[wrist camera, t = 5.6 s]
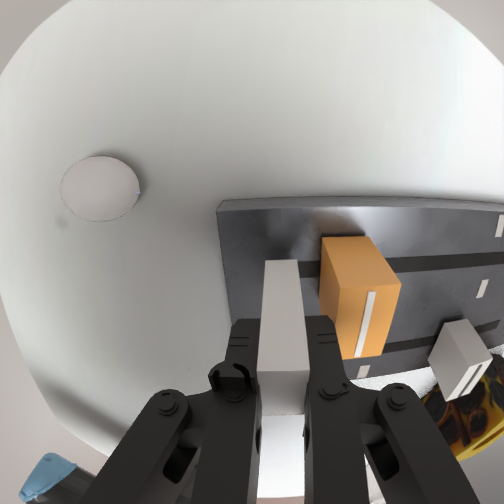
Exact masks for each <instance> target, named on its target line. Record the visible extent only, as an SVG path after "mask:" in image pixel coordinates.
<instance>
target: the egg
mask: <svg viewBox="0 0 504 504" xmlns="http://www.w3.org/2000/svg"><path fill="white" fill-rule="evenodd" d="M60 192H61V197H62V200H63V202H64V204H65V206H66V207H67V208H68V209H69V210H70V211H71V212H72V213H73V214H74V215H76V216H77V217H79V218H82V219H85V220H89V221H95V222H105V221H110V220H113V219H116V218H118V217H121V216H123V215H124V214H126V213H127V212H128V211H129V210H130V209H131V208H132V207H133V206H134V205H135V203H136V201H137V199H138V196H139V194H140V193H141V192H140V191H139V182H138V179H137V177H136V175H135V173H134V172H133V170H132V169H131V168H130V167H129V166H127V165H126V164H125V163H123V162H121V161H120V160H117V159H115V158H111V157H105V156H96V157H89V158H85V159H83V160H81V161H79V162H77V163H76V164H74V165H72V166H71V167H70V168H69V169H68V171H67V172H66V173H65V175H64V177H63V179H62V182H61V189H60Z"/></svg>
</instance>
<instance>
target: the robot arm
mask: <svg viewBox="0 0 504 504" xmlns="http://www.w3.org/2000/svg"><path fill="white" fill-rule="evenodd" d="M208 378H209V381H210V384H211V387H212V389H211V390H209V391H207V392H204V393H200V394H195V395H189V396H185V395H184V394H183V393H181V392H179V391H178V390H172V389H167V390H162V391H160V392H157V393H155V394H154V395H153V396H152V397H151V398H150V400H149V401H148V402H147V404H146V405H145V407H144V408H143V410H142V411H141V413H140V414H139V415H138V417H137V418H136V420H135V421H134V423H133V424H132V426H131V427H130V428H129V430H128V431H127V433H126V434H125V436H124V437H123V439H122V440H121V441H120V443H119V444H118V446H117V447H116V449H115V450H114V452H113V453H112V454H111V456H110V457H109V459H108V460H107V462H106V463H105V465H104V466H103V467H102V469H101V470H100V472H99V473H98V475H97V476H96V475H93V474H92V473H90V472H88V471H86V470H84V469H82V468H80V467H79V466H78V465H77V464H76V463H71V462H70V461H68V460H66V459H64V458H63V457H61V456H59V455H58V454H55V453H47V454H45V455H44V456H43V457H42V459H41V460H40V461H39V463H38V464H37V465H36V467H35V468H34V470H33V471H32V473H31V474H30V476H29V477H28V479H27V480H26V482H25V483H24V485H23V487H22V489H21V491H20V492H19V497H20V498H21V499H22V501H23V502H26V504H256V499H257V487H258V475H259V462H260V449H261V435H262V426H261V418H262V415H301V414H304V413H305V424H304V430H303V436H302V437H304V460H305V500H304V504H370V502H369V491H368V481H367V473H366V464H365V457H364V454H365V456H366V458H367V461H368V463H369V465H370V467H371V470H372V472H373V474H374V476H375V479H376V481H377V483H378V486H379V488H380V490H381V493H382V495H383V497H384V499H385V502H386V504H480V502H479V500H478V498H477V496H476V494H475V493H474V490H473V489H472V487H471V485H470V483H469V481H468V479H467V477H466V475H465V473H464V472H463V470H462V468H461V467H460V464H459V463H458V461H457V459H456V457H455V456H454V454H453V452H452V450H451V449H450V447H449V445H448V444H447V442H446V440H445V439H444V437H443V435H442V434H441V432H440V430H439V429H438V427H437V425H436V424H435V422H434V421H433V419H432V417H431V416H430V414H429V413H428V411H427V410H426V408H425V406H424V405H423V403H422V402H421V400H420V399H419V397H418V396H417V394H416V393H415V391H414V390H413V389H412V388H411V387H410V386H407V385H405V384H403V383H392V384H388V385H387V386H385V387H384V388H382V390H381V391H378V390H371V389H365V388H361V387H358V386H356V385H354V384H353V383H352V382H351V381H349V379H348V378H347V376H346V373H345V370H344V365H343V360H342V355H341V351H340V346H339V343H338V337H337V334H336V329H335V324H334V322H333V321H332V320H331V319H330V318H329V317H328V315H317V316H304V310H303V301H302V293H301V285H300V278H299V271H298V263H297V259H293V260H266V261H265V274H264V288H263V301H262V313H261V318H248V319H238V320H237V321H236V322H235V323H234V325H233V326H232V327H231V332H230V337H229V342H228V347H227V351H226V356H225V361H223V362H221V363H218V364H217V365H215V366H214V367H213V368H212V369H211V370H210V372H209V374H208Z"/></svg>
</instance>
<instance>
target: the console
mask: <svg viewBox="0 0 504 504" xmlns="http://www.w3.org/2000/svg"><path fill="white" fill-rule="evenodd" d="M216 215H217V223H218V231H219V238H220V245H221V253H222V260H223V267H224V273H225V280H226V287H227V293H228V300H229V306H230V313H231V319H232V325H234V323H235V322H236V321H237V320H238V319H248V318H261V313H262V301H263V288H264V274H265V261H266V260H293V259H297V263H298V271H299V278H300V285H301V293H302V301H303V310H304V316H317V315H321V311H320V306H319V289H320V273H321V253H322V237H356V236H369V238H370V239H371V240H372V242H373V243H374V245H375V246H376V247H377V249H378V250H379V251H380V253H381V254H382V256H383V257H384V259H385V260H386V261H387V263H388V264H389V266H390V267H391V269H392V270H393V272H394V273H395V275H396V276H397V278H398V279H399V281H400V282H401V288H400V292H399V296H398V300H397V304H396V308H395V312H394V315H393V319H392V322H391V325H390V329H389V332H388V335H387V338H386V341H385V344H384V347H383V350H382V353H381V355H379V356H371V357H363V358H354V359H344V360H343V365H344V370H345V373H346V376H347V378H348V379H349V380H354V379H362V378H370V377H377V376H383V375H389V374H395V373H401V372H406V371H411V370H416V369H420V368H425V367H429V366H430V364H429V362H428V358H429V356H430V354H431V352H432V350H433V347H434V345H435V343H436V341H437V339H438V336H439V334H440V332H441V330H442V327H443V325H444V323H448V322H453V321H458V320H463V319H468V321H469V322H470V323H471V325H472V326H473V328H474V329H475V331H476V332H477V334H478V335H479V337H480V338H481V340H482V341H483V343H484V344H485V346H486V348H487V349H491V348H494V347H497V346H500V345H502V344H504V204H498V203H489V202H478V201H466V200H452V199H435V198H414V197H379V196H320V197H282V198H259V199H241V200H225V201H222V203H221V205H220V206H219V208H218V209H217V211H216Z"/></svg>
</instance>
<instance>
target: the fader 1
mask: <svg viewBox="0 0 504 504" xmlns="http://www.w3.org/2000/svg"><path fill="white" fill-rule="evenodd" d="M400 288H401V282H400V281H399V279H398V278H397V276H396V275H395V273H394V272H393V270H392V269H391V267H390V266H389V264H388V263H387V261H386V260H385V259H384V257H383V256H382V254H381V253H380V251H379V250H378V249H377V247H376V246H375V245H374V243H373V242H372V240H371V239H370V238H369V236H356V237H322V253H321V273H320V289H319V306H320V311H321V315H328V317H329V318H330V319H331V320H332V321H333V322H334V324H335V329H336V334H337V337H338V343H339V346H340V351H341V355H342V360H344V359H354V358H363V357H371V356H379V355H381V353H382V350H383V347H384V344H385V341H386V338H387V335H388V332H389V329H390V325H391V322H392V319H393V315H394V312H395V308H396V304H397V300H398V296H399V292H400Z"/></svg>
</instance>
